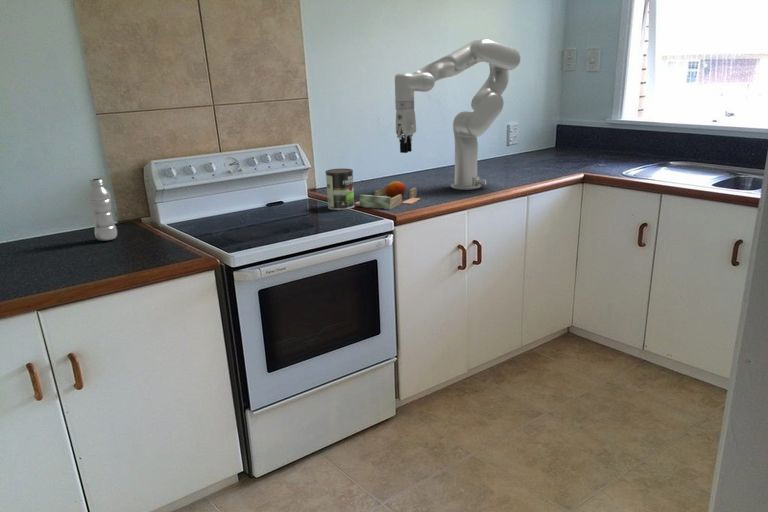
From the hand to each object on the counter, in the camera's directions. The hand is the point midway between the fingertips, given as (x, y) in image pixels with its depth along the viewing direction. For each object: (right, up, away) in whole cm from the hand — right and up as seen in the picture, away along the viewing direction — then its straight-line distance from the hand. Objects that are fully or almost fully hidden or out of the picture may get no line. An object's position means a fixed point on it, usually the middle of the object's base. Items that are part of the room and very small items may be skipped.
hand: (405, 151), depth 239 cm
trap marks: (-7, -21, -8) cm, 23 cm away
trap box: (-7, -21, -8) cm, 23 cm away
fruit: (-4, -20, -3) cm, 20 cm away
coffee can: (-25, -24, -15) cm, 38 cm away
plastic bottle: (-99, -38, -48) cm, 116 cm away
